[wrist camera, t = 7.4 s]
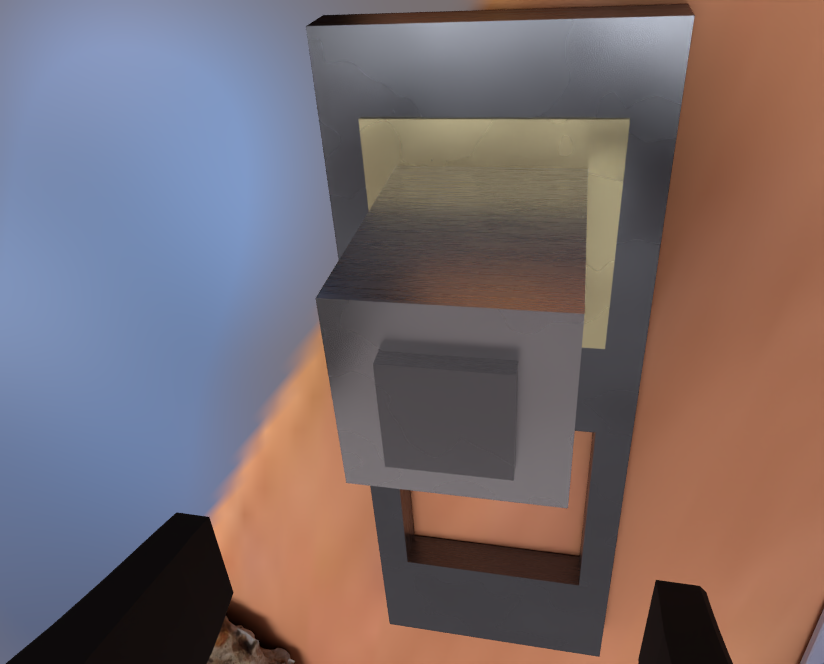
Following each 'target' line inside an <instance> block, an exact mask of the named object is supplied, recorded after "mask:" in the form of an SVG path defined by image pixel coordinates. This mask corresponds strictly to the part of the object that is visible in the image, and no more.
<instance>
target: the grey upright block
mask: <svg viewBox="0 0 824 664" xmlns="http://www.w3.org/2000/svg"><path fill="white" fill-rule="evenodd" d="M587 191H588V169H573V168H511V167H449V166H396V168H395V169H394V171H393V172H392V174H391V176H390V177H389V179H388V181H387V182H386V184H385V186H384V187H383V189H382V190H381V192H380V194H379V195H378V197H377V199H376V200H375V202H374V204H373V205H372V207H371V208H370V210H369V212H368V213H367V215H366V217H365V218H364V220H363V222H362V223H361V225H360V226H359V228H358V230H357V231H356V233H355V235H354V236H353V238H352V240H351V241H350V243H349V244H348V246H347V248H346V249H345V251H344V253H343V254H342V256H341V258H340V259H339V261H338V263H337V264H336V266H335V268H334V269H333V271H332V272H331V274H330V276H329V277H328V279H327V280H326V282H325V284H324V285H323V287H322V289H321V290H320V292H319V294H318V295H317V297H316V303H317V309H318V315H319V321H320V327H321V333H322V339H323V345H324V351H325V357H326V363H327V369H328V375H329V381H330V387H331V393H332V399H333V405H334V411H335V417H336V423H337V429H338V435H339V441H340V447H341V453H342V459H343V465H344V471H345V477H346V483H352V484H361V485H370V486H378V487H387V488H396V489H404V490H413V491H422V492H430V493H439V494H448V495H456V496H465V497H474V498H482V499H491V500H500V501H508V502H517V503H526V504H535V505H543V506H552V507H561V508H568V501H569V489H570V478H571V466H572V455H573V443H574V432H575V420H576V408H577V397H578V385H579V374H580V362H581V351H582V339H583V328H584V316H585V279H586V235H587Z"/></svg>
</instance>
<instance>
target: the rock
mask: <svg viewBox="0 0 824 664" xmlns="http://www.w3.org/2000/svg"><path fill="white" fill-rule="evenodd" d="M254 636H255V635H254V634H253V633H252V631H250V630H247V629H245V628H243V627H242V626H235V625H233V624H232V623H231V622H229V621H228V618H227V617H226V616H225V619H224V622H223V625H222V627H221V630H220V633H219V635H218V638H217V641H216V643H215V646H214V649H213V651H212V654H211V656H210V658H209V660H208V662H207V664H291V662H292V663H294V662H295V661H294V660H292V659H290V654H289V653H288V652H287V651H286V650H284V649H282V648H276V649H275V650H268V649H263V648H261V647H260V646H259V641H258V640H256V639H255V637H254Z"/></svg>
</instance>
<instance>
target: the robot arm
mask: <svg viewBox="0 0 824 664" xmlns="http://www.w3.org/2000/svg"><path fill="white" fill-rule="evenodd" d="M232 595H233V590H232V587H231V584H230V580H229V577H228V574H227V571H226V568H225V565H224V562H223V559H222V555H221V552H220V549H219V546H218V543H217V540H216V537H215V534H214V530H213V527H212V524H211V521H210V518H209V517H205V516H198V515H190V514H183V513H176V514H174V516H172V517H171V518H170V519H169V520H168V521H167V522H165V523H164V524H163V525H162V526H161V527H160V528H159V529H158V530H157V531H156V532H154V533H153V534H152V535H151V536H150V537H149V538H148V539H147V540H146V541H145V542H144V543H142V544H141V545H140V546H139V547H138V548H137V549H136V550H135V551H134V552H133V553H132V554H131V555H130V556H128V557H127V558H126V559H125V560H124V561H123V562H122V563H121V564H120V565H119V566H118V567H117V568H115V569H114V570H113V571H112V572H111V573H110V574H109V575H108V576H107V577H106V578H105V579H103V580H102V581H101V582H100V583H99V584H98V585H97V586H96V587H95V588H93V589H92V590H91V591H90V592H89V593H88V594H87V595H86V596H84V597H83V598H82V599H81V600H80V601H79V602H78V603H77V604H75V605H74V606H73V607H72V608H71V609H70V610H69V611H68V612H66V613H65V614H64V615H63V616H62V617H61V618H60V619H58V620H57V621H56V622H55V623H54V624H53V625H52V626H50V627H49V628H48V629H47V630H46V631H44V632H43V633H42V634H41V635H40V636H38V637H37V638H36V639H35V640H34V641H32V642H31V643H30V644H29V645H27V646H26V647H25V648H24V649H23V650H22V651H20V652H19V653H18V654H17V655H15V656H14V657H13V658H12V659H11V660H10V661H8V662H7V663H6V664H207V662H208V660H209V658H210V656H211V654H212V651H213V649H214V646H215V643H216V641H217V638H218V635H219V633H220V630H221V627H222V625H223V622H224V619H225V616H226V613H227V610H228V607H229V604H230V601H231V598H232ZM639 664H733V663H732V660H731V658H730V655H729V653H728V651H727V648H726V646H725V643H724V641H723V638H722V635H721V633H720V630H719V628H718V625H717V622H716V620H715V617H714V614H713V611H712V608H711V605H710V603H709V599H708V596H707V593H706V592H705V591H704V590H703V589H702V588H701V587H700V586H695V585H688V584H681V583H674V582H667V581H660V580H656V582H655V586H654V591H653V595H652V600H651V605H650V609H649V614H648V618H647V623H646V627H645V632H644V636H643V641H642V645H641V650H640V655H639ZM800 664H824V609H823V612H822V614H821V616H820V619H819V621H818V623H817V625H816V628H815V630H814V632H813V635H812V637H811V639H810V642H809V644H808V646H807V648H806V651H805V653H804V655H803V658H802V660H801V662H800Z"/></svg>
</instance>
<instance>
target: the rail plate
mask: <svg viewBox="0 0 824 664" xmlns="http://www.w3.org/2000/svg"><path fill="white" fill-rule="evenodd" d="M694 16H695V15H694V14H693V12H692V10H691V8H690V7H689V5H688V4H671V5H639V6H607V7H574V8H542V9H510V10H478V11H446V12H415V13H382V14H351V15H350V14H349V15H323V16H321V17H320V18H318V19H317V20H315V21H313V22H312V23H310V24H309V25H307V26H306V30H307V37H308V44H309V51H310V59H311V65H312V73H313V80H314V87H315V94H316V101H317V109H318V116H319V122H320V130H321V137H322V144H323V152H324V158H325V166H326V172H327V180H328V187H329V194H330V201H331V208H332V216H333V222H334V230H335V237H336V244H337V251H338V258H339V259H340V258H341V256H342V254H343V253H344V251H345V249H346V248H347V246H348V244H349V243H350V241H351V240H352V238H353V236H354V235H355V233H356V231H357V230H358V228H359V226H360V225H361V223H362V222H363V220H364V218H365V217H366V215H367V213H368V212H369V210H370V208H371V207H372V205H373V204H374V202H375V200H376V199H377V197H378V195H379V194H380V192H381V190H382V189H383V187H384V186H385V184H386V182H387V181H388V179H389V177H390V176H391V174H392V172H393V171H394V169H395V168H396V166H449V167H511V168H573V169H588V191H587V235H586V279H585V316H584V328H583V339H582V351H581V362H580V374H579V385H578V397H577V408H576V420H575V431H585V432H593V435H592V444H591V454H590V463H589V473H588V482H587V492H586V501H585V511H584V520H583V530H582V539H581V548H580V557H578V556H570V555H562V554H554V553H547V552H539V551H531V550H523V549H515V548H508V547H500V546H492V545H484V544H477V543H469V542H461V541H453V540H446V539H438V538H430V537H422V536H414V526H413V515H412V505H411V494H410V490H404V489H396V488H387V487H378V486H371V494H372V501H373V508H374V515H375V522H376V529H377V536H378V543H379V550H380V558H381V565H382V572H383V579H384V586H385V593H386V600H387V607H388V615H389V622H390V624H394V625H400V626H407V627H413V628H420V629H426V630H432V631H439V632H445V633H451V634H458V635H464V636H471V637H477V638H483V639H490V640H496V641H502V642H509V643H515V644H522V645H528V646H534V647H541V648H547V649H554V650H560V651H566V652H573V653H579V654H585V655H592V656H598V657H599V656H600V649H601V642H602V636H603V629H604V622H605V615H606V609H607V602H608V595H609V589H610V582H611V575H612V568H613V562H614V555H615V548H616V541H617V535H618V528H619V521H620V514H621V508H622V501H623V494H624V487H625V481H626V474H627V467H628V461H629V454H630V447H631V440H632V434H633V427H634V420H635V413H636V407H637V400H638V393H639V386H640V380H641V373H642V366H643V359H644V353H645V346H646V339H647V333H648V326H649V319H650V312H651V306H652V299H653V292H654V285H655V279H656V272H657V265H658V258H659V252H660V245H661V238H662V232H663V225H664V218H665V211H666V205H667V198H668V191H669V184H670V178H671V171H672V164H673V157H674V151H675V144H676V137H677V130H678V124H679V117H680V110H681V104H682V97H683V90H684V83H685V77H686V70H687V63H688V56H689V50H690V43H691V36H692V29H693V23H694Z"/></svg>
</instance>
